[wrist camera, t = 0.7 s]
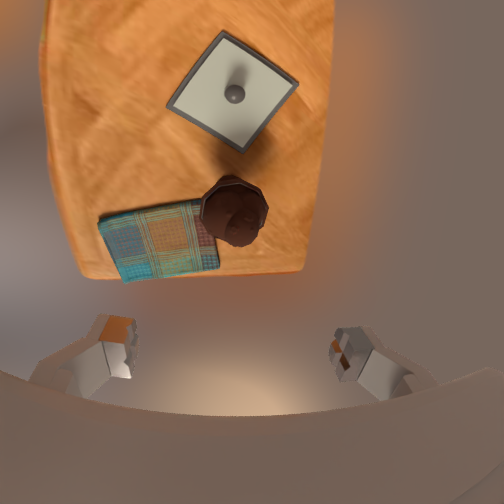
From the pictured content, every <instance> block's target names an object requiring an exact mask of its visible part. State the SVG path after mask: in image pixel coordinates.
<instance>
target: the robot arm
mask: <svg viewBox="0 0 504 504" xmlns="http://www.w3.org/2000/svg"><path fill="white" fill-rule="evenodd" d="M136 329H137V324H136V320H135V319H134V318H126V317H120V316H114V315H107V314H99V315H98V317H97V318H96V320H95V322H94V323H93V325H92V327H91V329H90V331H89V332H88V334H87V336H86V338H81V339H79V340H77V341H75V342H73V343H72V344H70V345H68V346H66V347H64V348H63V349H61V350H59V351H57V352H56V353H54V354H52V355H50V356H48V357H46V358H45V359H43V360H41V361H39V363H38V364H37V366H36V368H35V370H34V371H33V373H32V375H31V377H30V379H29V381H26V380H23V379H21V378H18V377H16V376H13V375H11V374H8V373H6V372H3V371H1V370H0V504H504V373H502V372H500V371H498V370H496V369H494V368H491V367H486V368H483V369H481V370H478V371H476V372H474V373H471V374H469V375H466V376H464V377H461V378H458V379H456V380H453V381H450V382H447V383H444V384H441V385H439V384H438V383H437V381H436V380H435V378H434V377H433V376H432V374H431V373H430V372H429V370H428V369H426V368H424V367H422V366H421V365H419V364H417V363H415V362H413V361H411V360H410V359H408V358H406V357H404V356H402V355H401V354H398V353H397V352H395V351H393V350H392V349H390V348H385V347H384V345H383V344H382V342H381V341H380V339H379V338H378V337H377V335H376V334H375V332H374V331H373V330H372V328H371V327H369V326H358V327H342V328H337V329H336V331H335V334H334V336H335V340H334V341H333V342H332V343H331V345H330V348H329V359H330V362H331V364H332V365H334V366H335V367H336V369H335V373H336V375H337V377H338V379H339V381H340V382H346V381H356V380H357V382H358V383H360V384H361V385H362V386H363V387H364V388H366V389H367V390H368V391H369V392H371V393H372V394H373V395H374V396H375V397H377V398H378V399H379V400H380V401H379V402H374V403H369V404H365V405H359V406H354V407H348V408H341V409H335V410H328V411H321V412H311V413H301V414H289V415H273V416H238V417H236V416H202V415H187V414H175V413H164V412H157V411H148V410H142V409H135V408H129V407H123V406H118V405H113V404H107V403H102V402H98V401H94V400H89V399H87V398H88V397H89V396H90V395H91V394H92V393H93V392H95V391H96V390H97V389H98V388H99V387H100V386H101V385H102V384H104V383H105V382H106V381H107V380H108V379H109V378H110V377H111V376H116V377H123V378H132V374H133V370H134V367H135V366H134V360H135V359H137V356H138V351H139V338H138V335H137V334H136V333H135V332H136Z"/></svg>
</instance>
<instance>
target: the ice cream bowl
mask: <svg viewBox="0 0 504 504" xmlns="http://www.w3.org/2000/svg"><path fill="white" fill-rule="evenodd" d="M268 209H269V207H268V205H267V202H266V200H265V198H264V196H263V194H262V191H261V190H260V189H259V188H258V187H256V186H254V185H252V184H250V183H248V182H246V181H244V180H242V179H240V178H237V177H235V176H233V175H230V176H224V177H222V178H221V179H220V180H219V181H218V182H217V183H216V184H215V185H214V186H213V187H212V188H211V189H210V190H209V191H208V192H207V193H205V194H204V195H203V197H202V200H201V206H200V213H199V220H200V221H201V223H202V224H203V226H204V228H205V229H206V231H207V232H208V234H209V235H211V236H214V237H215V238H219V239H221V240H224V241H226V242H228V243H229V244H230V245H232V246H234V247H237V246H238V247H244V246H246V245H249V244H251V243H252V242H253V241H254V239H255V238H256V237H257V235H258V232H259V229H261V228H262V227H263V226H264V223H265V220H266V216H267V213H268Z"/></svg>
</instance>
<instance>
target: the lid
mask: <svg viewBox="0 0 504 504" xmlns="http://www.w3.org/2000/svg"><path fill="white" fill-rule="evenodd" d="M292 86H293V85H291V84H290V83H289V82H287V81H286V80H285V79H284V78H282V77H281V76H280V75H278V74H277V73H276V72H274V71H273V70H271V69H270V68H269V67H267V66H266V65H264V64H263V63H262V62H260V61H259V60H257V59H256V58H254V57H253V56H251V55H250V54H248V53H247V52H245V51H244V50H242V49H241V48H239V47H237V46H236V45H234V44H233V43H231V42H229V41H228V40H226V39H224V38H223V39H222V41H221V42H220V43H219V44H218V45H217V47H216V48H215V49H214V50H213V52H212V53H211V54H210V55H209V57H208V58H207V59H206V60H205V62H204V63H203V64H202V66H201V67H200V68H199V70H198V71H197V72H196V74H195V75H194V76H193V78H192V79H191V80H190V82H189V83H188V85H187V86H186V88H185V89H184V90H183V92H182V93H181V95H180V96H179V98H178V99H177V101H176V102H175V104H174V105H173V106H174V107H176V108H178V109H180V110H181V111H183V112H185V113H186V114H188V115H190V116H192V117H193V118H195V119H197V120H198V121H200V122H202V123H203V124H205V125H207V126H208V127H210V128H212V129H213V130H215V131H217V132H218V133H220V134H221V135H223V136H225V137H226V138H228V139H229V140H231V141H233V142H234V143H236V144H237V145H239V146H240V147H242V148H243V147H244V145H245V144H246V143H247V142H248V140H249V139H250V138H251V136H252V135H253V134H254V133H255V131H256V130H257V129H258V127H259V126H260V125H261V124H262V122H263V121H264V120H265V119H266V117H267V116H268V115H269V114H270V112H271V111H272V110H273V109H274V107H275V106H276V105H277V104H278V103H279V101H280V100H281V99H282V98H283V97H284V95H285V94H286V93H287V92H288V91H289V89H290V88H291V87H292Z"/></svg>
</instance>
